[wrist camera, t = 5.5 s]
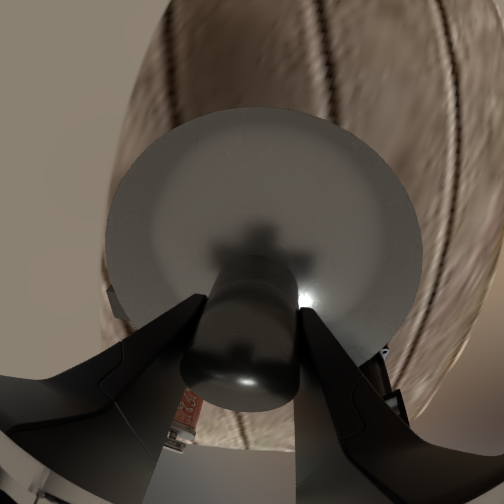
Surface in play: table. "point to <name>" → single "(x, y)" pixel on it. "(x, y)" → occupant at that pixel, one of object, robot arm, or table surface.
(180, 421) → the lighter
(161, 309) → the lid
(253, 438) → the table surface
